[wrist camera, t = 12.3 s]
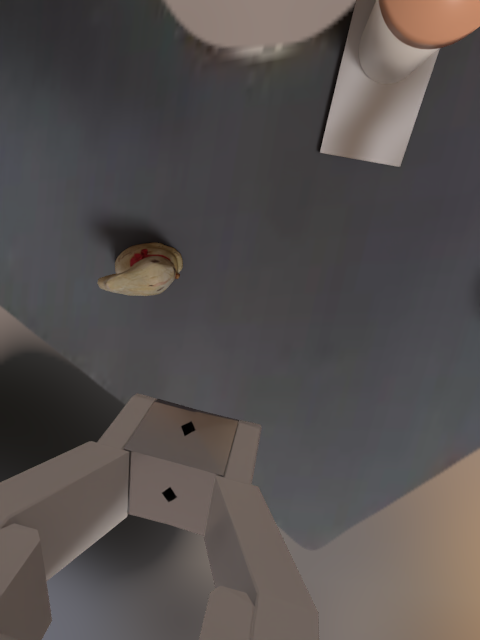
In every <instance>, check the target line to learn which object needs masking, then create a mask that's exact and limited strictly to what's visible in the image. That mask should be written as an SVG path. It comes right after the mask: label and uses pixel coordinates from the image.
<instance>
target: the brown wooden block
mask: <svg viewBox="0 0 480 640" xmlns="http://www.w3.org/2000/svg"><path fill="white" fill-rule="evenodd" d="M375 2H376V0H356V3H355V7H354V11H353V15H352V19H351V24H350V28H349V32H348V36H347V40H346V45H345V49H344V53H343V57H342V61H341V65H340V70H339V74H338V78H337V82H336V86H335V91H334V95H333V99H332V103H331V107H330V112H329V116H328V120H327V124H326V128H325V132H324V137H323V141H322V145H321V149H320V153H324V154H330V155H335V156H341V157H347V158H352V159H358V160H363V161H369V162H375V163H380V164H386V165H391V166H397V167H400V165H401V162H402V159H403V156H404V153H405V150H406V147H407V144H408V141H409V138H410V135H411V132H412V129H413V126H414V123H415V120H416V117H417V114H418V111H419V108H420V105H421V102H422V99H423V96H424V94H425V91H426V88H427V85H428V82H429V79H430V76H431V73H432V70H433V67H434V64H435V61H436V58H437V55H438V52H439V49H440V48H439V49H438V50H437V51H435V52H434V53H433V54H432V55H431V56H430V57H429V58H428V59H427V60H425V61H424V62H423V63H422V64H421V65H420V66H419V67H418V68H416V69H415V70H414V71H413V72H412V73H411V74H410V75H408V76H407V77H405V78H404V79H402V80H400V81H398V82H395V83H389V84H383V83H378V82H376V81H374V80H372V79H370V78H369V77H368V76H367V75H366V73H365V72H364V70H363V69H362V66H361V63H360V59H359V44H360V39H361V36H362V33H363V31H364V28H365V26H366V24H367V21H368V19H369V16H370V14H371V12H372V9H373V7H374V4H375Z"/></svg>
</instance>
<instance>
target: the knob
mask: <svg viewBox="0 0 480 640" xmlns="http://www.w3.org/2000/svg"><path fill="white" fill-rule="evenodd" d="M479 26H480V0H376V2H375V4H374V7H373V9H372V12H371V14H370V16H369V19H368V21H367V24H366V26H365V28H364V31H363V33H362V36H361V39H360V44H359V59H360V63H361V66H362V69H363V70H364V72H365V73H366V75H367V76H368V77H369V78H370V79H372V80H374V81H376V82H378V83H383V84H389V83H395V82H398V81H400V80H402V79H404V78H405V77H407V76H408V75H410V74H411V73H412V72H413V71H414V70H415V69H416V68H418V67H419V66H420V65H421V64H422V63H423V62H424V61H425V60H427V59H428V58H429V57H430V56H431V55H432V54H433V53H434V52H435V51H437V50H438V49H439V48H442V47H446V46H448V45H451V44H454V43H456V42H458V41H460V40H462V39H463V38H465V37H466V36H468V35H469V34H471V33H472V32H473V31H474V30H476V29H477V28H478V27H479Z"/></svg>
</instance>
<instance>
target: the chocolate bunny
mask: <svg viewBox="0 0 480 640" xmlns="http://www.w3.org/2000/svg"><path fill="white" fill-rule="evenodd" d="M182 267H183V261H182V257H181V254H180V253H179V252H178V251H177V250H176V249H174V248H173V247H168V246H166V245H163V244H161V243H145V244H139V245H134V246H131V247H129V248H127V249H126V250H124V251H123V252H122V253H121V254H120V255H119V256H118V258H117V259H116V262H115V271H116V274H112V275H108V276H105V277H102V278H100V279H98V285H99V287H100V288H102V289H104V290H106V291H110V292H114V293H121V294H125V295H134V296H138V295H139V296H145V297H146V296H147V295H148V296H149V295H156V294H160V293H162V292H163V291H164V290H166V289H167V288H168V287H169V285H170V284H171V283H172V282H173V281H174V279H178V278H179V277H180V274H179V272H180V271H181V269H182Z"/></svg>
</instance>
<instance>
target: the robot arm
mask: <svg viewBox="0 0 480 640" xmlns="http://www.w3.org/2000/svg"><path fill="white" fill-rule="evenodd" d="M238 423H239V424H238ZM260 433H261V425H259V424H255V423H251V422H247V421H242V420H240V421H239V420H237V419H233V418H229V417H224V416H220V415H216V414H212V413H208V412H204V411H200V410H196V409H193V408H189V407H185V406H182V405H178V404H175V403H171V402H168V401H164V400H161V399H155V398H152V397H148V396H145V395H141V394H136V395H134V396H133V397H131V399H130V400H129V401H128V403H127V404H126V405H125V407H124V408H123V409H122V411H121V412H120V413H119V415H118V416H117V417H116V419H115V420H114V421H113V422H112V424H111V425H110V426H109V428H108V429H107V430H106V432H105V433H104V434H103V435H102V437H101V438H100V439H99V441H98V442H97V443H96V442H92V441H90V442H87V443H85V444H83V445H81V446H79V447H77V448H75V449H72V450H70V451H68V452H66V453H63V454H61V455H59V456H57V457H55V458H53V459H51V460H48V461H46V462H44V463H42V464H40V465H38V466H35V467H33V468H31V469H29V470H27V471H25V472H22V473H20V474H18V475H16V476H14V477H12V478H9V479H7V480H5V481H3V482H1V483H0V640H42V638H43V636H44V634H45V632H46V631H47V628H48V627H49V625H50V623H51V621H52V617H51V610H50V603H49V596H48V589H47V584H46V581H47V580H49V579H50V578H51V577H52V576H54V575H55V574H56V573H57V572H59V571H60V570H61V569H62V568H64V567H65V566H66V565H67V564H69V563H70V562H71V561H72V560H74V559H75V558H76V557H77V556H78V555H80V554H81V553H82V552H84V551H85V550H86V549H87V548H88V547H90V546H91V545H92V544H94V543H95V542H96V541H97V540H99V539H100V538H101V537H102V536H104V535H105V534H106V533H107V532H108V531H110V530H111V529H112V528H114V527H115V526H116V525H117V524H118V523H120V522H121V521H122V520H124V519H125V518H126V517H127V514H131V515H134V516H138V517H142V518H146V519H150V520H154V521H158V522H162V523H165V524H166V523H167V524H169V525H172V526H175V527H178V528H181V529H184V530H187V531H190V532H194V533H197V534H200V535H203V536H204V540H205V544H206V549H207V554H208V558H209V562H210V567H211V571H212V576H213V580H214V585H215V590H213V591H212V592H210V596H209V600H208V605H207V609H206V613H205V617H204V621H203V625H202V629H201V633H200V637H199V640H319V619H318V611H317V609H316V607H315V605H314V603H313V601H312V598H311V596H310V594H309V592H308V590H307V588H306V586H305V584H304V582H303V580H302V578H301V575H300V574H299V571H298V569H297V567H296V565H295V563H294V561H293V559H292V556H291V554H290V552H289V550H288V548H287V546H286V544H285V542H284V540H283V538H282V536H281V533H280V531H279V529H278V527H277V525H276V523H275V521H274V519H273V517H272V514H271V512H270V510H269V508H268V506H267V504H266V502H265V500H264V498H263V496H262V493H261V491H260V489H259V487H257V486H254V485H251V484H252V478H253V473H254V467H255V461H256V456H257V450H258V444H259V438H260Z"/></svg>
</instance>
